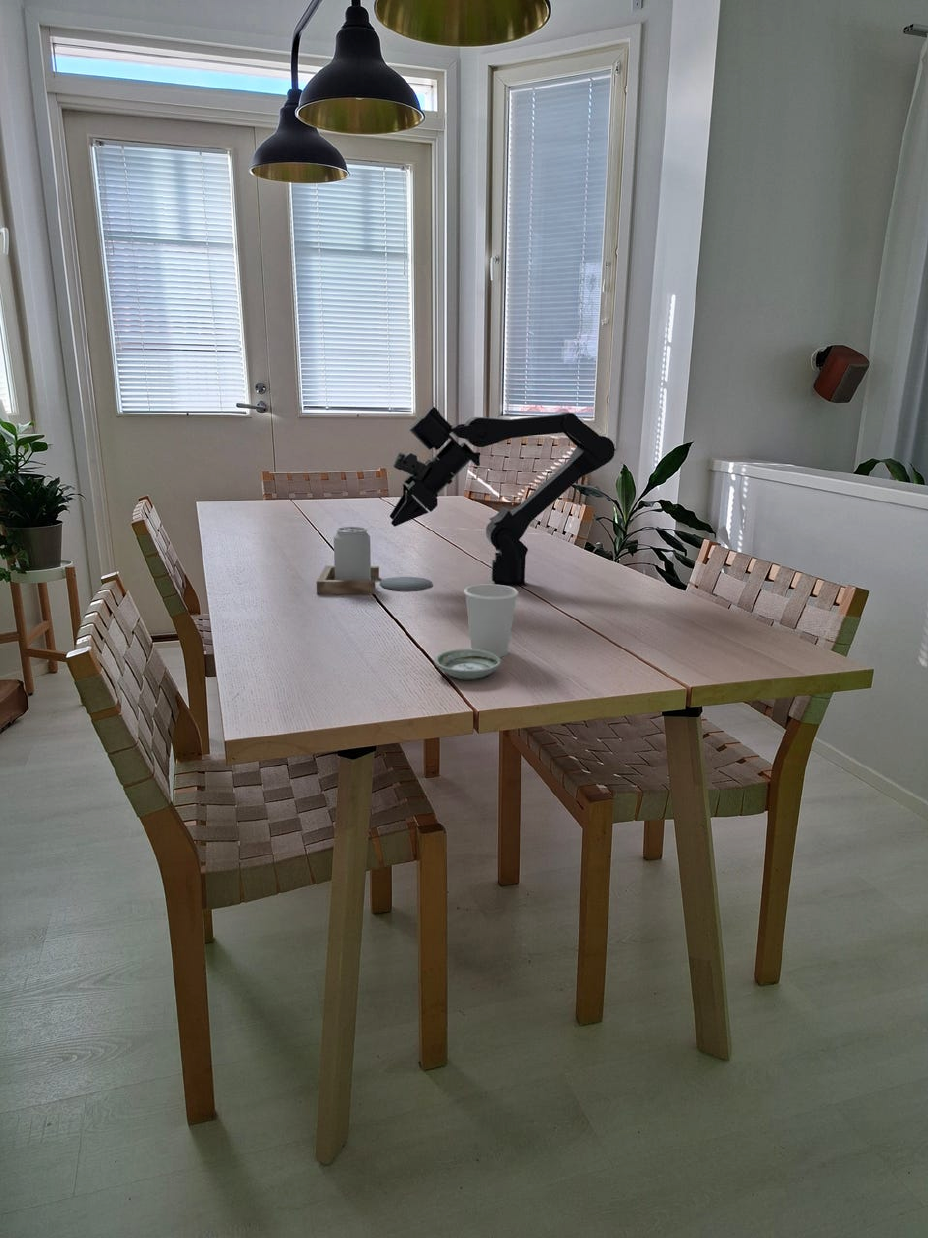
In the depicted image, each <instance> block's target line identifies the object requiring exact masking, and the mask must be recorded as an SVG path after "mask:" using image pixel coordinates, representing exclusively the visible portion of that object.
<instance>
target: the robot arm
mask: <svg viewBox="0 0 928 1238" xmlns="http://www.w3.org/2000/svg"><path fill="white" fill-rule="evenodd" d="M408 431H409V432H410V433H411V434H412V435H413V436H414V437H415V438H416V439H417V440H418V441H419V442H420V443H422V445H423V446H424V447H425V448H426V449H427V450H429V451H430V450H432V449H434V450H435V451H438V450H439V452H438V453H437V454H436V455H435V456H434V457H433V458H432V459H427V460H426V461H425V462H422V461H421V460H418V456H417V455H416V454H413V453H411V452H408V453H407V454H406V453H404V452H401V451H399V452H398V454H397V456H396V458H395V460H394V464H393V465H392V466H393V468H395V469H396V470H399V471H403V472H404V473H407V474H409V475H408V476H407V477H406V478H405V479H404V480H403V483H402V495H401V497H400V498H399V499H398V502H397V503H396V505H395V506H394V508H393V509H392V511H391V513H390V514H389V518H390V519H391V525H392V526H393V527H398V526H400V525H402V524H404V523H407V522H409V521H412V520H414V519H415V518H419V517H421V516H423V515H427V514H429V513H432V512H433V511H434V509H436V507H438V497H439V494H440V493H441V491H443V489H444V488H445V487H446V486H447V485H451V484H452V482H453V479H454V478H455V477H456V476H457V475H458V474H459V473H460V472H461V471H462V470H463V469H464V468H465V467H466V466H467V465H468V464H469V463H470V462H472V463H473V464H474V465H475V466H476V467H480V465H481V462H480V458H481V452H479V451H474V450H472V449H471V448H470V446H469V445H468V444H470V445H471V446H474V447H477V448H484V447H488V446H492V445H494V444H498V443H501V442H504V441H506V440H510V439H513V438H515V439H516V438H525V437H535V436H542V435H545V436H546V435H554V434H562V433H563V434H564V435H565V436H566V437H567V439H569V440H570V441H571V442H572V444H574V445H575V449H574V450H573V452H572V453H571V455H570V456H569V458H568V460H567V462H566V463H565V464H564V465H563V466H562V467H560V468H559V469H558V470H557V471H556V472H554V474H553V475H551V476H550V477H549V478H547V480H546V481H545V482H543V483H542V484H541V485H540V486H539V487H538V488H537V489H536V490H534V491H533V492H532V493H531V494H530V495H528V497H527V498H525V500H522V502H521V503H520V504H519V505H518V506H516V507H514V508H512V509H510V510H509V509H508V508H507V507H506V506H503V507H501V509H500V510H499V511H498V512H497V513H496V515H494V516H492V517H490V518H489V521H490V522H489V523H488V524H487V525H486V529H485V534H486V538H487V540H488V541H489V543H491V545H492V546H493V547H494V549H495V551H496V552H495V553H494V559H492V560H491V581H492V582H493V583H494V584H495V585H504V586H509V587H513V586H514V587H520V586H521V587H525V586H527V583H526V581H525V579H526V560H527V559H526V556H527V553H528V551H529V549H528V547H527V546H526V545H525V544H524V543H523V542H522V541H521V538H522V537H523V536H524V535H525V533H526V531H527V530H528V528H529V526H530V524H531V523H532V521H534V520H535V519H536V518H537V517H538V516H539V515H541V513H542V512H544V511H545V510H547V508H548V507H550V506H551V505H552V504H553V503H554V502H555V501H557V499H559V498H560V496H562V495H564V493H566V492H567V491H568V489H570V488H571V487H572V486H573V485H574V484H575V483H577V482H578V481H579V480H580V479H581V478H582V477H584V476H587V475H589V474H591V473H592V472H595V471H597V470H598V469H601V468H602V467H604V466H605V465H607V464H608V463H610V462H611V461H612V459H614V457H615V452H616V451H615V450H616V449H615V444H614V442H613V440H611V439H610V438H609V437H608V436H607V437H606V436H603V435H599V433H598V432H596V431H595V430H594V429H592V428H591V427H590V426H588V425H587V424H585V423H584V422H583V421H582V420H581V419H580V418H579V417H578V415H576V414H575V413H572V412H561V413H560V414H558V413H556V414H549V415H539V416H529V417H527V416H526V417H519V418H509V419H506V418H497V417H496V418H494V417H486V416H485V417H484V416H483V417H482V416H473V417H470V418H469V419H468V420H466V422H465V423H460V424H456V423H454V425H452V424H450V423H449V421H447V419H445V417H443V416H442V414H441V413H440V411H439V410H438V409H437V408H436V407H435V406H432V407H431V408H430V409H429V410H428V411H426V412H425V413H424V414H423V416H420V417H418V419H417V420H416V421H415V422H414V423H413V424H412V425H411V427H410V428H409V429H408ZM451 434H452V435H453V436H455V437H457V438H459V439H464V440H465V441H466V442H467V443H468V444H467V443H466V442H462V443H461V444H460V443H458V441H457V440H456V439H454V437H453V436H452V435H451ZM448 440H449V441H448ZM447 441H448V442H447ZM446 442H447V443H446ZM445 443H446V444H445ZM443 445H444V446H443ZM441 447H443V448H442V449H440V448H441ZM542 514H543V513H542Z"/></svg>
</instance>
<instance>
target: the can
mask: <svg viewBox="0 0 928 1238" xmlns="http://www.w3.org/2000/svg"><path fill="white" fill-rule="evenodd" d="M367 531H368V529H367V528H366V527H362V526H361V527H360V526H342V527H337V528H336V533H335V534H334V536H333V558H334V559H333V560H334V561H333V563H334V565H333V566H334V567H335V579H334V580H372V579H371V566H372V564H371V561H372V560H371V535H370V534H369V533H368V532H367Z"/></svg>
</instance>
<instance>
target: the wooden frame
mask: <svg viewBox="0 0 928 1238" xmlns="http://www.w3.org/2000/svg"><path fill="white" fill-rule="evenodd" d="M379 578H380V566H379V565H378V566H377V565H371V580H335V567H334V565H325V566H324V567H323V570H322V572H321V573H320V575H319V577H318V579H317V580H316V594H318V595H376V580H379Z"/></svg>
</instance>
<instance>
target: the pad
mask: <svg viewBox="0 0 928 1238" xmlns="http://www.w3.org/2000/svg"><path fill="white" fill-rule="evenodd" d="M379 586H380V587H381V588H383V589H386V590H391V591H398V590H406V591H405V592H408V591H409V592H411V591H410V590H415V591H421V590H426V589H430V588H432V586H433V582H432V580H430V579H427V578H424V577H423V578H422V577H419V576H418V577H416V576H415V577H414V576H396V577H389V578H388V577H387V578H385V579H382V580H380V581H379Z"/></svg>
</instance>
